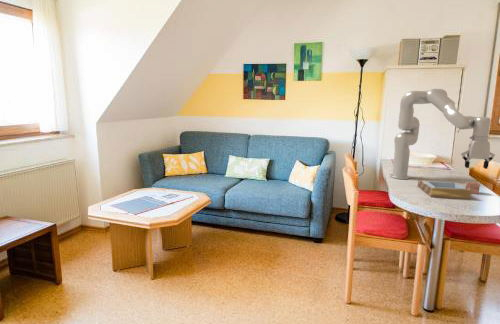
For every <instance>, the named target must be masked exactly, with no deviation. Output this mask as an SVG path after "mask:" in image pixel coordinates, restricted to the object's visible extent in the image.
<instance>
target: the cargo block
mask: <svg viewBox="0 0 500 324" xmlns="http://www.w3.org/2000/svg"><path fill="white" fill-rule="evenodd" d="M480 186H481V184H480V183H478V182H476V181H466V182H465V188H466V189H467V190H471V194H470V195H479V193H480Z"/></svg>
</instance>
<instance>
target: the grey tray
mask: <svg viewBox="0 0 500 324" xmlns="http://www.w3.org/2000/svg"><path fill="white" fill-rule="evenodd" d="M452 182H453V181H450V182H447V181H431V180H426V181H425V184H426V185H427V186H429V187H430V188H440V189H459V190H467V189H466V187H464V186H462V185H461V184H459V183H457V182H454V183H452Z"/></svg>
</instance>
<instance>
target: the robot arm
mask: <svg viewBox="0 0 500 324" xmlns="http://www.w3.org/2000/svg"><path fill="white" fill-rule="evenodd" d="M425 104H432V105H433V106H434V107H435V108H436V109H437V110H439V111H440V112H441V113H442V114H443V116H444V117H445V119H446V120H447V121H448V122H449V123H451V125H453V126H454V127H455V128H456V129H458V130H470V129H471V130H473V131H472V135H471V136H470V137H469V140H470V142H469V143H468V144H469V145H468V148H467V150H466V151H464V152H461V153H460V155H461V157H462V159H463V160H464V167H465V168H466V169H469V168H470V164H471V162H470V160H471V159H475V160H484V161H483V165H482V168H483V169H486V170H487V169H488V168H489V163H490V162H491V161H492V160H493V159H494V158H495V156H496V154H495V153H492V152H491V145H490V143H491V142H490V141H489V136H490V135H489V134H490V129H491V121H492V120H491V118H490V117H487V116H486V117H485V116H472V115H463V114H462V113H461V112H460V111H458V110H457V108H456V103H455V101H454V100H452V98H450V97H448V93H447V91H446V90H445V89H443V88H442V89H441V88H431V89H430V90H411V91H408V92H407V93H405V94H404V95H403V96H402V98H401V99H400V103H399V106H400V107H399V114H398V115H399V116H398V121H397V122H398V124H397V126H398V129H399V130H401V131H404V132H400V133H397V134H396V136H395V137H394V139H393V140H394V155H393V166H392V173H390V175H389V177H390V178H393V179H397V180H408V179H410V175H408V171H409V163H410V162H409V161H410V154H411V153H410V152H411V150H410V146H413V145H415V144H416V143H417V142H418V139H419V134H420V133H419V132H420V121H419V119H418V117H416V116H415V115H414V111H415V110H414V109H415V108H414V105H425Z"/></svg>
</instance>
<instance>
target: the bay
mask: <svg viewBox="0 0 500 324" xmlns="http://www.w3.org/2000/svg"><path fill="white" fill-rule="evenodd" d="M451 182H452V183H455V182H454V181H451ZM416 187H418V188H419V189H420V190H421V191H422V192H423V193H425V195H428V196H429V197H430V198H440V199H442V198H443V199H457V200H458V199H459V200H460V199H461V200H470V199H471V195H472V194H471V190H459V189H440V188H430V187H429V186H427V185H426V182H423V181H422V180H418V181H417V186H416Z"/></svg>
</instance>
